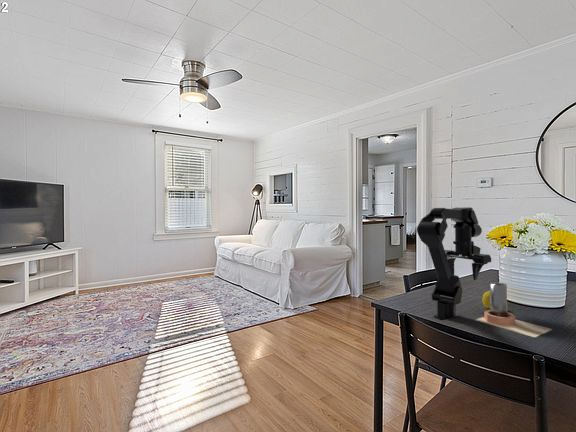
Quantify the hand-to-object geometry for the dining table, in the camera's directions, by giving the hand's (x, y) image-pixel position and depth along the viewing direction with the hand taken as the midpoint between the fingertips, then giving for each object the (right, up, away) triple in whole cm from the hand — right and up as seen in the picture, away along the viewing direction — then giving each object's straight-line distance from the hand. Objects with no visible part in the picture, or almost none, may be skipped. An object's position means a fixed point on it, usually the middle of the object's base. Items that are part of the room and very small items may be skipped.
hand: (463, 277), depth 129 cm
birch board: (+6, -13, -19) cm, 24 cm away
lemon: (+10, -13, -1) cm, 17 cm away
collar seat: (+4, -13, -15) cm, 21 cm away
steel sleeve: (+4, -12, -15) cm, 20 cm away
